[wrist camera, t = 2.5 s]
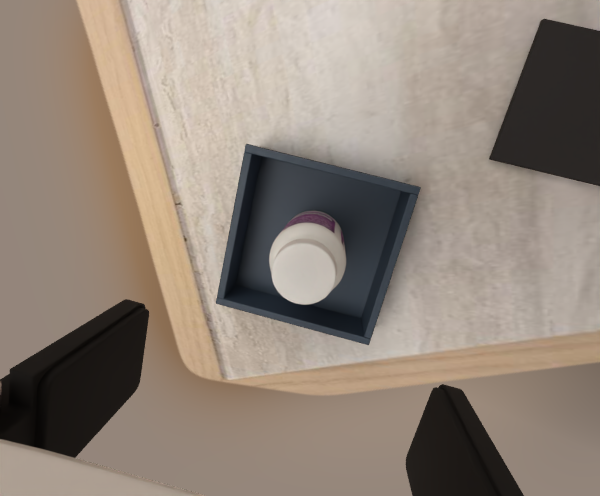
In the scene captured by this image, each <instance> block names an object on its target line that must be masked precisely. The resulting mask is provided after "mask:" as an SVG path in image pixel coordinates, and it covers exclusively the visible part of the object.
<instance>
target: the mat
mask: <svg viewBox="0 0 600 496" xmlns="http://www.w3.org/2000/svg"><path fill="white" fill-rule="evenodd" d="M489 159H491V160H495V161H499V162H503V163H507V164H511V165H515V166H520V167H524V168H528V169H532V170H536V171H540V172H544V173H549V174H553V175H557V176H561V177H565V178H569V179H573V180H577V181H582V182H586V183H590V184H594V185H598V186H600V31H597V30H593V29H588V28H583V27H579V26H574V25H570V24H565V23H561V22H556V21H552V20H547V19H543V20H542V21H541V22H540V25H539V28H538V30H537V33H536V36H535V38H534V41H533V44H532V46H531V49H530V52H529V54H528V57H527V60H526V62H525V65H524V68H523V70H522V73H521V76H520V78H519V81H518V84H517V86H516V89H515V92H514V94H513V97H512V100H511V102H510V105H509V107H508V110H507V113H506V115H505V118H504V121H503V123H502V126H501V129H500V131H499V134H498V137H497V139H496V142H495V145H494V147H493V150H492V153H491V155H490V158H489Z"/></svg>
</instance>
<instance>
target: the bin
mask: <svg viewBox="0 0 600 496" xmlns="http://www.w3.org/2000/svg"><path fill="white" fill-rule="evenodd" d="M420 189H421V187H418V186H414V185H410V184H406V183H402V182H398V181H394V180H390V179H386V178H382V177H378V176H374V175H370V174H366V173H362V172H358V171H354V170H350V169H345V168H341V167H337V166H333V165H329V164H325V163H321V162H317V161H313V160H309V159H305V158H301V157H297V156H293V155H289V154H285V153H281V152H277V151H273V150H269V149H265V148H261V147H257V146H253V145H249V144H246V146H245V153H244V157H243V162H242V167H241V173H240V178H239V183H238V189H237V194H236V199H235V205H234V210H233V215H232V220H231V226H230V231H229V236H228V242H227V247H226V252H225V258H224V263H223V268H222V273H221V279H220V284H219V289H218V295H217V300H216V304H220V305H223V306H227V307H231V308H234V309H238V310H242V311H245V312H249V313H253V314H256V315H260V316H264V317H267V318H271V319H275V320H278V321H282V322H286V323H289V324H293V325H297V326H300V327H304V328H308V329H311V330H315V331H319V332H322V333H326V334H330V335H333V336H337V337H341V338H344V339H348V340H352V341H355V342H359V343H363V344H366V345H369V343H370V340H371V337H372V334H373V331H374V328H375V325H376V322H377V319H378V316H379V313H380V310H381V307H382V304H383V301H384V298H385V294H386V291H387V288H388V285H389V282H390V279H391V276H392V273H393V270H394V267H395V264H396V261H397V258H398V255H399V252H400V249H401V246H402V243H403V240H404V237H405V234H406V231H407V228H408V225H409V222H410V219H411V216H412V213H413V210H414V207H415V204H416V201H417V198H418V194H419V192H420ZM306 211H320V212H324V213H326V214H328V215H330V216H331V217H332V218H334V219H335V220H336V222H337V223H338V224H339V226H340V228H341V230H342V233H343V238H344V244H345V252H346V267H345V272H344V274H343V277H342V279H341V281H340V282H339V283H338V285H337V286H336V287H335V288H334V289H333V290H332V291H331V292H330V293H329V294H328V295H327V296H326V297H325V298H324V299H322V300H321V301H319V302H316V303H313V304H308V305H302V304H296V303H293V302H290V301H288V300H287V299H285V298H284V297H283V296H281V294H280V293H279V292H278V291H277V289H276V288H275V286H274V284H273V281H272V273H271V270H270V264H269V256H270V250H271V247H272V244H273V242H274V240H275V239H276V237H277V236H278V235H279V234H280V232H281V231H282V230H283V229H284V228H285V226H286V225H287V224H288V223H289V222H290V220H291V219H292V218H294V217H295V216H296V215H298V214H300V213H302V212H306Z"/></svg>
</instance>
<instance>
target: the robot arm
mask: <svg viewBox="0 0 600 496" xmlns="http://www.w3.org/2000/svg"><path fill="white" fill-rule="evenodd" d="M148 318H149V311H148V310H147V309H145V305H144V304H142V303H138V302H135V301H131V300H124V301H122V302H120V303H118V304H117V305H115V306H113V307H112V308H110V309H108V310H107V311H105V312H103V313H102V314H100V315H99V316H97V317H95V318H94V319H92V320H90V321H89V322H87V323H86V324H84V325H82V326H80V327H79V328H77V329H76V330H74V331H72V332H71V333H69V334H67V335H66V336H64V337H62V338H61V339H59V340H57V341H56V342H54V343H52V344H51V345H49V346H47V347H46V348H44V349H43V350H41V351H39V352H38V353H36V354H34V355H33V356H31V357H29V358H28V359H26V360H24V361H23V362H21V363H20V364H18V365H16V366H15V367H13V368H11V369H10V374H9V375H7V376H5V377H4V378H2V379H0V496H205V495H202V494H199V493H195V492H192V491H188V490H185V489H181V488H178V487H175V486H171V485H168V484H164V483H160V482H157V481H153V480H150V479H147V478H143V477H139V476H136V475H132V474H129V473H126V472H122V471H119V470H115V469H112V468H108V467H105V466H101V465H98V464H94V463H91V462H87V461H84V460H80V459H76V458H75V457H76V456H77V455H78V454H79V453H80V452H81V451H82V449H83V448H84V447H85V446H86V445H87V444H88V443H89V442H90V441H91V439H92V438H93V437H94V436H95V435H96V434H97V433H98V432H99V431H100V430H101V429H102V427H103V426H104V425H105V424H106V423H107V422H108V421H109V420H110V419H111V417H113V415H114V414H115V413H116V412H117V411H118V410H119V409H120V408H121V407H122V406H123V404H124V403H125V402H126V401H127V400H128V399H129V398H130V397H131V396H132V395H133V393H134V392H135V391H136V389H137V387H138V385H139V383H140V377H141V370H142V363H143V355H144V348H145V340H146V333H147V326H148ZM406 470H407V474H408V479H409V483H410V487H411V491H412V495H413V496H524V495H523V493H522V492H521V490H520V488H519V487H518V485H517V483H516V481H515V480H514V478H513V476H512V475H511V473H510V471H509V469H508V468H507V466H506V465H505V463H504V461H503V459H502V457H501V456H500V454H499V452H498V451H497V449H496V447H495V445H494V444H493V442H492V440H491V439H490V437H489V435H488V434H487V432H486V430H485V428H484V427H483V425H482V423H481V421H480V420H479V418H478V416H477V415H476V413H475V411H474V409H473V408H472V406H471V404H470V403H469V401H468V399H467V397H466V396H465V394H464V392H463V391H462V390H461V389H458V388H454V387H451V386H447V385H443V384H442V385H440V386H439V388H433V390H432V392H431V394H430V397H429V400H428V402H427V405H426V407H425V410H424V413H423V415H422V418H421V420H420V423H419V426H418V428H417V431H416V433H415V436H414V438H413V441H412V444H411V446H410V449H409V452H408V454H407V457H406Z"/></svg>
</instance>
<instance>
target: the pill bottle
mask: <svg viewBox="0 0 600 496" xmlns="http://www.w3.org/2000/svg"><path fill="white" fill-rule="evenodd" d="M269 264H270V270H271V273H272V281H273V284H274V286H275V288H276V289H277V291H278V292H279V293H280V294H281V296H283V297H284V298H285V299H287V300H288V301H290V302H293V303H296V304H302V305H308V304H313V303H316V302H319V301H321V300H322V299H324V298H325V297H326V296H327V295H328V294H329V293H330V292H331V291H332V290H333V289H334V288H335V287H336V286H337V285H338V283H339V282H340V281H341V279H342V277H343V274H344V272H345V267H346V252H345V244H344V238H343V233H342V230H341V228H340V226H339V224H338V223H337V222H336V220H335V219H334V218H332V217H331V216H330V215H328V214H326V213H324V212H320V211H306V212H302V213H300V214H298V215H296V216H295V217H294V218H292V219H291V220H290V222H289V223H288V224H287V225H286V226H285V228H284V229H283V230H282V231H281V232H280V234H279V235H278V236H277V237H276V239H275V240H274V242H273V244H272V247H271V250H270V256H269Z"/></svg>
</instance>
